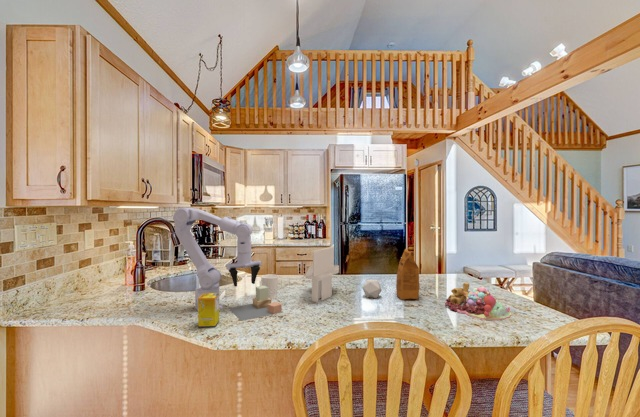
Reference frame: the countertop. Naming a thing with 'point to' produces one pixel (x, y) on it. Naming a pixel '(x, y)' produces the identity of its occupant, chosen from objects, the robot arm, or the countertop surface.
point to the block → (274, 307)
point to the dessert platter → (477, 303)
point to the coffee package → (407, 277)
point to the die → (372, 288)
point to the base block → (261, 303)
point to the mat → (249, 312)
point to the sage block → (261, 293)
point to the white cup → (270, 284)
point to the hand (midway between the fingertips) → (244, 284)
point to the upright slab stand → (322, 273)
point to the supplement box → (208, 310)
